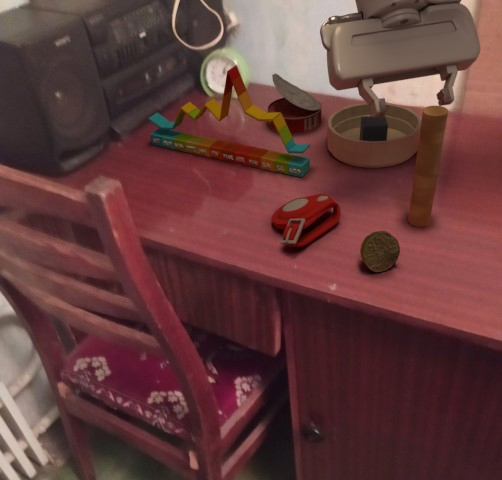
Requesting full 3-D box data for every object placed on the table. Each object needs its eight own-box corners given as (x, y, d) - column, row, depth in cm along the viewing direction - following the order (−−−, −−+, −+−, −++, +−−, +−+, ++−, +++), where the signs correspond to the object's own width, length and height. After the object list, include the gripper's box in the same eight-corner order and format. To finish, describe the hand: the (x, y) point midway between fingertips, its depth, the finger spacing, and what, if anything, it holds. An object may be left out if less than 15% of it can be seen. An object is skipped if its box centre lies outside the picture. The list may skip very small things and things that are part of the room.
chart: (151, 145, 106) (134, 58, 96) (161, 137, 108) (146, 52, 98) (301, 178, 94) (300, 83, 83) (310, 169, 96) (310, 75, 85)
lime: (401, 262, 76) (406, 230, 73) (382, 281, 74) (385, 249, 70) (372, 250, 79) (375, 219, 75) (352, 268, 76) (354, 236, 73)
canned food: (286, 135, 115) (295, 80, 112) (327, 142, 110) (339, 85, 106) (248, 127, 107) (258, 69, 104) (291, 135, 101) (303, 73, 98)
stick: (424, 213, 84) (441, 103, 73) (433, 224, 82) (452, 113, 71) (404, 217, 84) (419, 107, 73) (413, 228, 82) (429, 117, 71)
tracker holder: (261, 206, 86) (323, 179, 86) (271, 232, 89) (332, 206, 88) (278, 234, 76) (349, 204, 76) (289, 263, 78) (358, 233, 78)
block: (383, 137, 101) (385, 115, 98) (385, 148, 98) (388, 125, 95) (359, 138, 101) (360, 116, 98) (361, 149, 98) (363, 126, 95)
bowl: (410, 125, 105) (413, 100, 101) (425, 166, 94) (429, 140, 91) (325, 129, 106) (325, 104, 103) (330, 171, 95) (330, 144, 92)
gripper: (322, 4, 73) (345, 111, 73) (474, -18, 76) (496, 86, 75) (312, 32, 80) (332, 131, 79) (452, 11, 82) (472, 107, 82)
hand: (413, 109), depth 77 cm, fingers open, 8 cm apart
